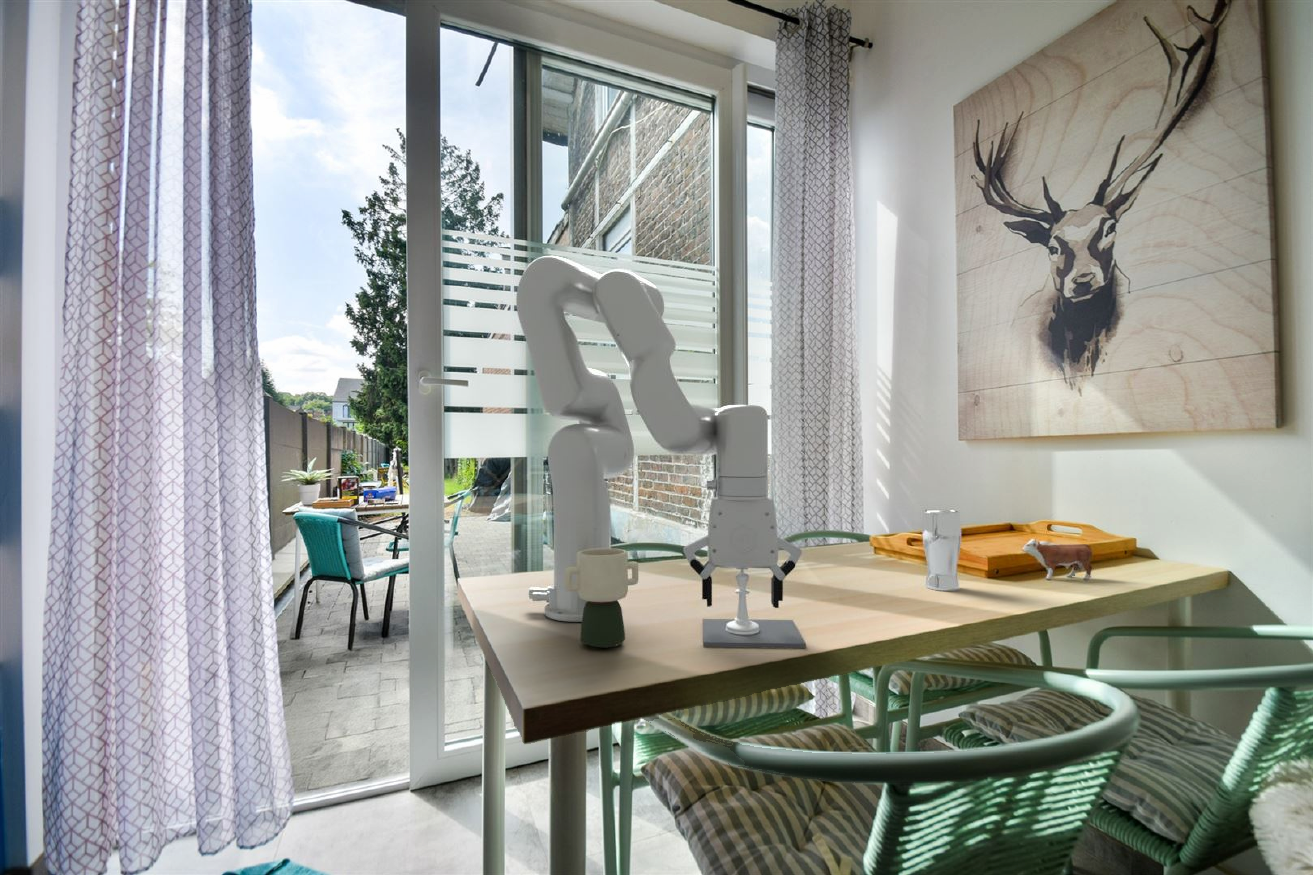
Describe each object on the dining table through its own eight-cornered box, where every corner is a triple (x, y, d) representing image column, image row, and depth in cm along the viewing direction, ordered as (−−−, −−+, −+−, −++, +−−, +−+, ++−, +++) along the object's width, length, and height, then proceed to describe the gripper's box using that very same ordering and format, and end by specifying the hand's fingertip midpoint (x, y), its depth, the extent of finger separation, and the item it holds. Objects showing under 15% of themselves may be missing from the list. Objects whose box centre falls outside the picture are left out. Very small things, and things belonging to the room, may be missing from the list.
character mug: (629, 633, 92) (628, 545, 92) (648, 647, 86) (648, 552, 86) (557, 643, 88) (557, 550, 88) (572, 658, 81) (572, 558, 82)
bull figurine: (1019, 575, 133) (1019, 537, 133) (1087, 577, 131) (1087, 538, 131) (1029, 579, 129) (1028, 540, 129) (1099, 581, 127) (1098, 541, 127)
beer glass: (916, 587, 122) (915, 511, 122) (932, 582, 126) (931, 508, 127) (953, 593, 117) (951, 513, 117) (968, 587, 121) (966, 510, 122)
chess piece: (758, 635, 89) (758, 565, 89) (724, 633, 90) (723, 564, 90) (760, 626, 93) (759, 559, 94) (727, 624, 94) (726, 558, 95)
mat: (703, 646, 86) (703, 642, 86) (702, 622, 98) (702, 618, 98) (806, 648, 85) (805, 643, 85) (792, 623, 97) (792, 619, 97)
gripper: (682, 490, 89) (682, 610, 88) (805, 490, 88) (805, 613, 87) (684, 486, 96) (683, 597, 96) (797, 487, 95) (797, 600, 95)
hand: (741, 605), depth 92 cm, fingers open, 9 cm apart
